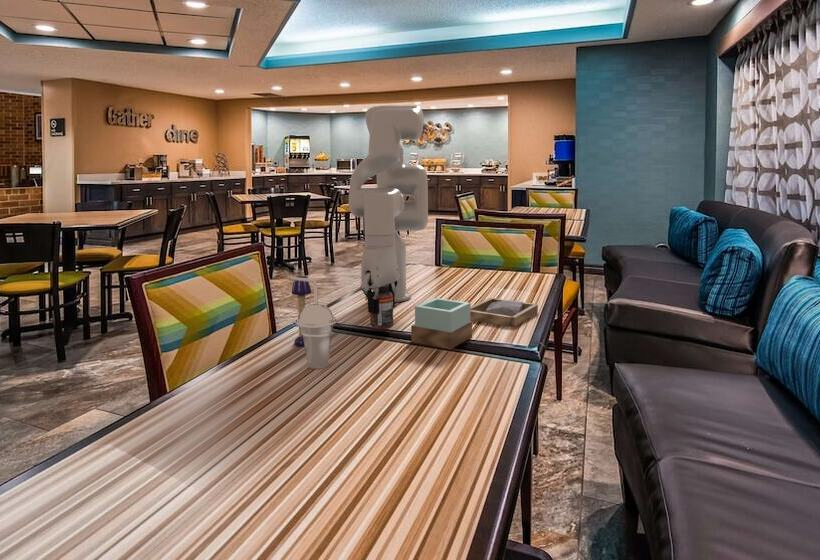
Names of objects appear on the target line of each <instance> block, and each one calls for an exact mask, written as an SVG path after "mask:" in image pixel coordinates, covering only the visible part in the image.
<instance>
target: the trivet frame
mask: <svg viewBox="0 0 820 560" xmlns="http://www.w3.org/2000/svg"><path fill="white" fill-rule="evenodd" d="M503 300H505V301H506V300H508V301H513V300H510V299H505V298H498V297H497V298H495V297H493V298H492V297H488V298H487V299H484V300H481V301H480V302H478V303H475V304H474V305H471V307H470V321H475V322H482V323H487V324H494V325H499V326H503V327H504V326H506V327H517V326H519V325H520V324H522V323H524V322H525V321H527V320H529V319H530V318H532V317H534V316H535V315H536V313H537V314H538V313H539V311H538V310H539V304H535V303H532V302H526V301H522V302H523V311H521V312H519V313H517V314H516V315H514V316H506V315H500V314H494V313H487V312H486V309H487V308H488V306H489V305H491V303H493V302H500V301H503ZM514 301H515V302H520V301H518V300H517V301H516V300H514ZM534 314H535V315H534ZM528 318H529V319H528Z"/></svg>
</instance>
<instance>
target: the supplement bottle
mask: <svg viewBox="0 0 820 560" xmlns="http://www.w3.org/2000/svg"><path fill="white" fill-rule="evenodd" d="M372 292H373V293H374V289H373V290H372ZM377 299H379V314H373V313H369V317H370V318H369V319H370V327H371V328H372V329H376V330H388V329H391V328H392V327H394V308H393V294H392V293H391V292H390V291H389V284H388V285H385V286H382V287H379V291H378V296H377Z"/></svg>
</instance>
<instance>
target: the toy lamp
mask: <svg viewBox="0 0 820 560" xmlns="http://www.w3.org/2000/svg"><path fill="white" fill-rule="evenodd" d="M296 277H298V278H308V277H307V276H306V275H298V276H296ZM309 294H312V289H311V285H310V282H306V281H295V280H293V283H292V288H291V295H294V296H297V299H298V300H297V306H298V307H297V310H298V315H297V316H298V318H299V317H300V315H301V312H302V310H303V309H304V308H305V307H306V296H307V295H309ZM298 331H299V332H298V336H297V337H296V338H295V339H294V342H293V345H294V346H295V345H296V346H297V347H305V345H304V339H303V335H302V332H301V328H300V326H298Z"/></svg>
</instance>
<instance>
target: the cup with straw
mask: <svg viewBox="0 0 820 560" xmlns="http://www.w3.org/2000/svg"><path fill="white" fill-rule="evenodd" d="M288 279H289V281H294V280H295V281H306V282H309V283H312V284H313V299H314V300H313V301H314V302H313V303H309V304H308V305H305V308H304V309H303V310H302V312H301V315H300V317H298V318H296V322H295V323H296V325H297V326H298V327H299V326H300V328H301V332H302V335H303V339H304V345H305V346H304V350H305V355H306V362H307V364H308V365H307V367H308V368H310V369H315V370H319V369H325V368H326V367H329V366H330V362H329V361H330V356H331V342H332V341H331V340H332V334H333V330H334V329H333V328H334V325H335V324H336V323H337V318H336V316H335V315H333V313H332V311H331V309H330V308H329V306H327V305H325V304H323V303H320V302H318V300H319V299H318V283H317V280H316V279H314V278H308V277H307V278H298V277H297V276H290V277H289V278H288Z"/></svg>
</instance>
